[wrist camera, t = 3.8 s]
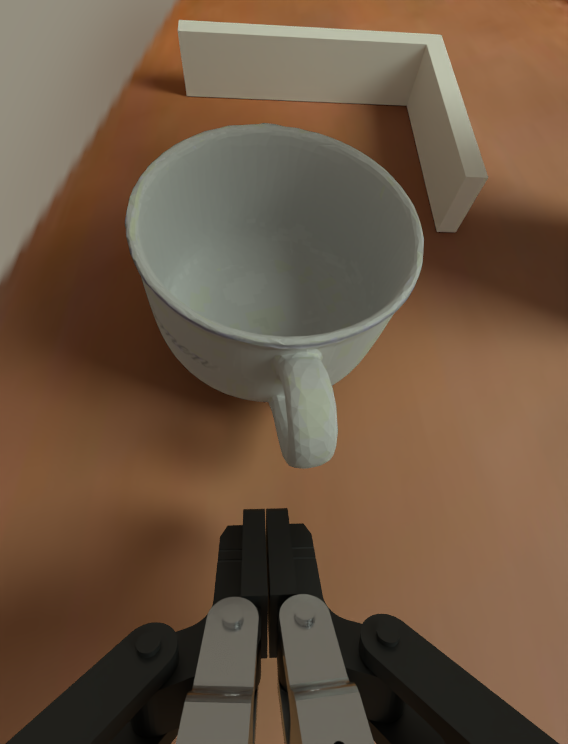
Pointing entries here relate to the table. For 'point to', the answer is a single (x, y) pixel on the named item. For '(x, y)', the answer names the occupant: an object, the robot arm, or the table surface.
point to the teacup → (274, 267)
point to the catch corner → (349, 89)
